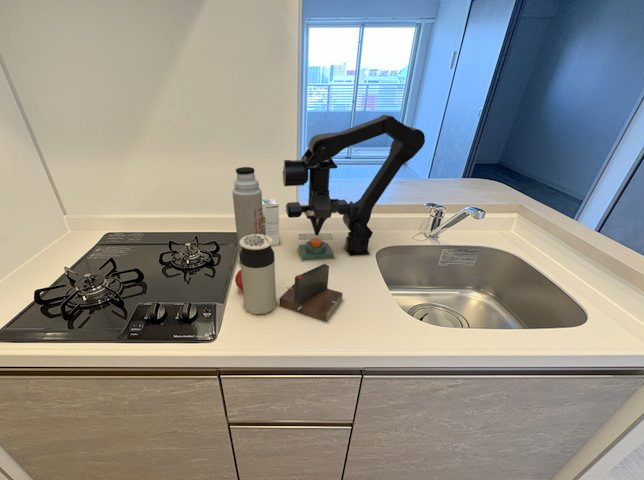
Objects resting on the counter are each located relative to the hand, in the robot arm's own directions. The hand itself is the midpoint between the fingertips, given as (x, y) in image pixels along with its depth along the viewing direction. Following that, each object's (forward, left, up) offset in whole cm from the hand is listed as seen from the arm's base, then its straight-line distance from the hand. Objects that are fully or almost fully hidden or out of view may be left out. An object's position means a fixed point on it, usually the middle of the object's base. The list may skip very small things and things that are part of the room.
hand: (316, 234), depth 102 cm
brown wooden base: (+7, +27, -7) cm, 29 cm away
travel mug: (+20, +26, -7) cm, 34 cm away
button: (0, 0, -4) cm, 4 cm away
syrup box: (+14, -11, -7) cm, 19 cm away
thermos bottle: (+21, +2, -7) cm, 22 cm away
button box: (0, 0, -7) cm, 7 cm away
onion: (+23, +19, -7) cm, 31 cm away
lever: (+7, +27, -4) cm, 28 cm away
